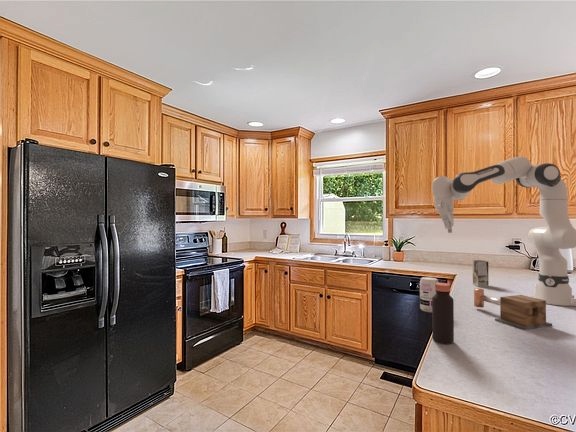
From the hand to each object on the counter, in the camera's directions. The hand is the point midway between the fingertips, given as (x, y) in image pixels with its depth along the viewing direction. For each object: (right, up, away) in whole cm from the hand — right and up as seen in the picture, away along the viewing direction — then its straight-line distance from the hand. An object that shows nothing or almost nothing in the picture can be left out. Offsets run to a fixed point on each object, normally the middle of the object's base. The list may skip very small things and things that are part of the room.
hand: (448, 230), depth 161 cm
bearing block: (+15, -37, -31) cm, 50 cm away
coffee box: (+42, -38, +42) cm, 70 cm away
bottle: (-28, -37, -50) cm, 68 cm away
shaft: (+11, -35, -19) cm, 42 cm away
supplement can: (-16, -37, -13) cm, 42 cm away
